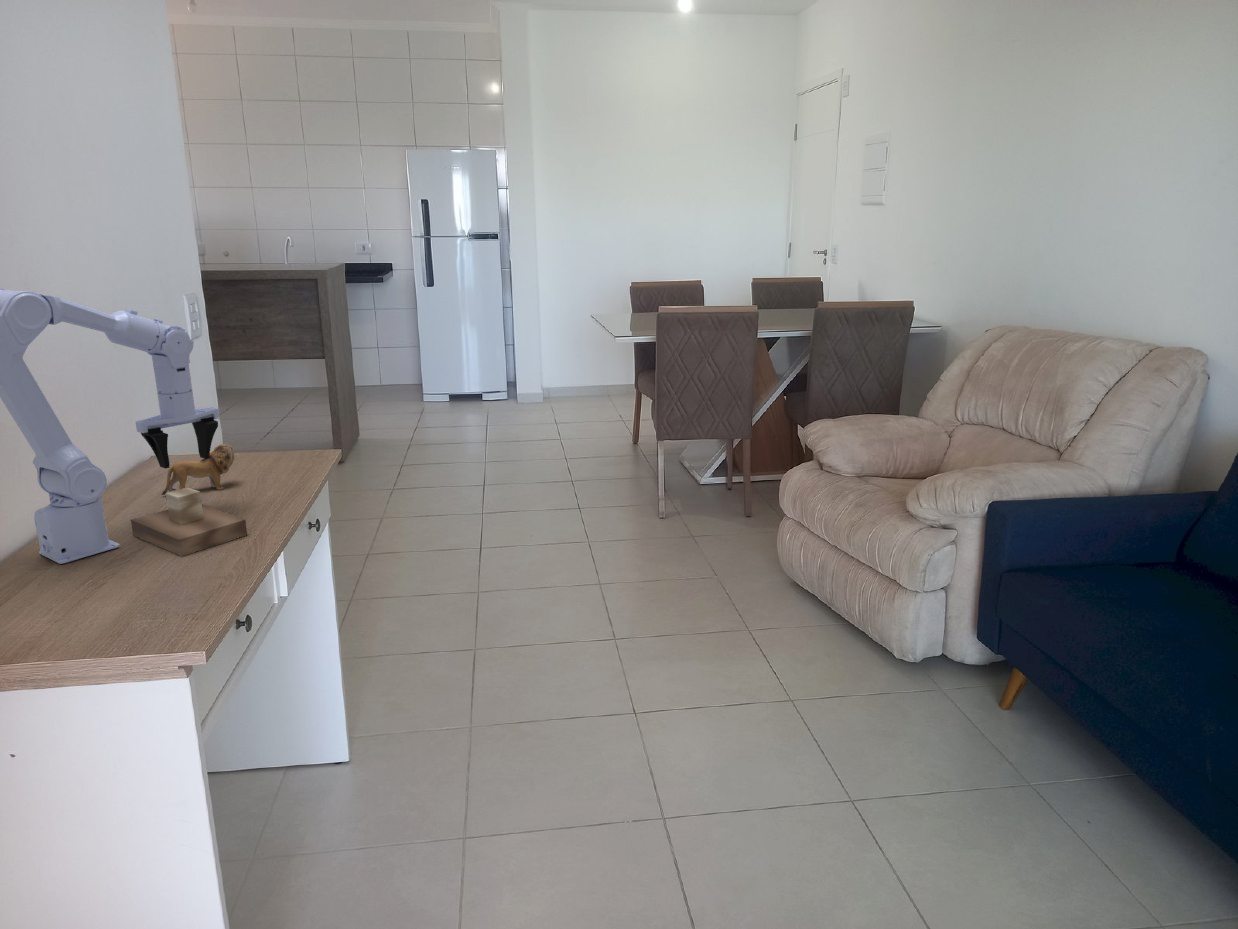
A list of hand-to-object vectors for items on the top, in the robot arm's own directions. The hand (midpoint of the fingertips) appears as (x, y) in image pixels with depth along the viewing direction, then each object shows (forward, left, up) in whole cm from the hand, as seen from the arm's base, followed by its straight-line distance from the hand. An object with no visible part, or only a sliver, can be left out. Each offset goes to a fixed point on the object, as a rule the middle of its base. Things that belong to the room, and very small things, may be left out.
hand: (185, 462), depth 156 cm
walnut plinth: (-6, -10, -10) cm, 16 cm away
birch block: (-6, -9, -7) cm, 13 cm away
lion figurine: (+10, +13, -11) cm, 19 cm away
